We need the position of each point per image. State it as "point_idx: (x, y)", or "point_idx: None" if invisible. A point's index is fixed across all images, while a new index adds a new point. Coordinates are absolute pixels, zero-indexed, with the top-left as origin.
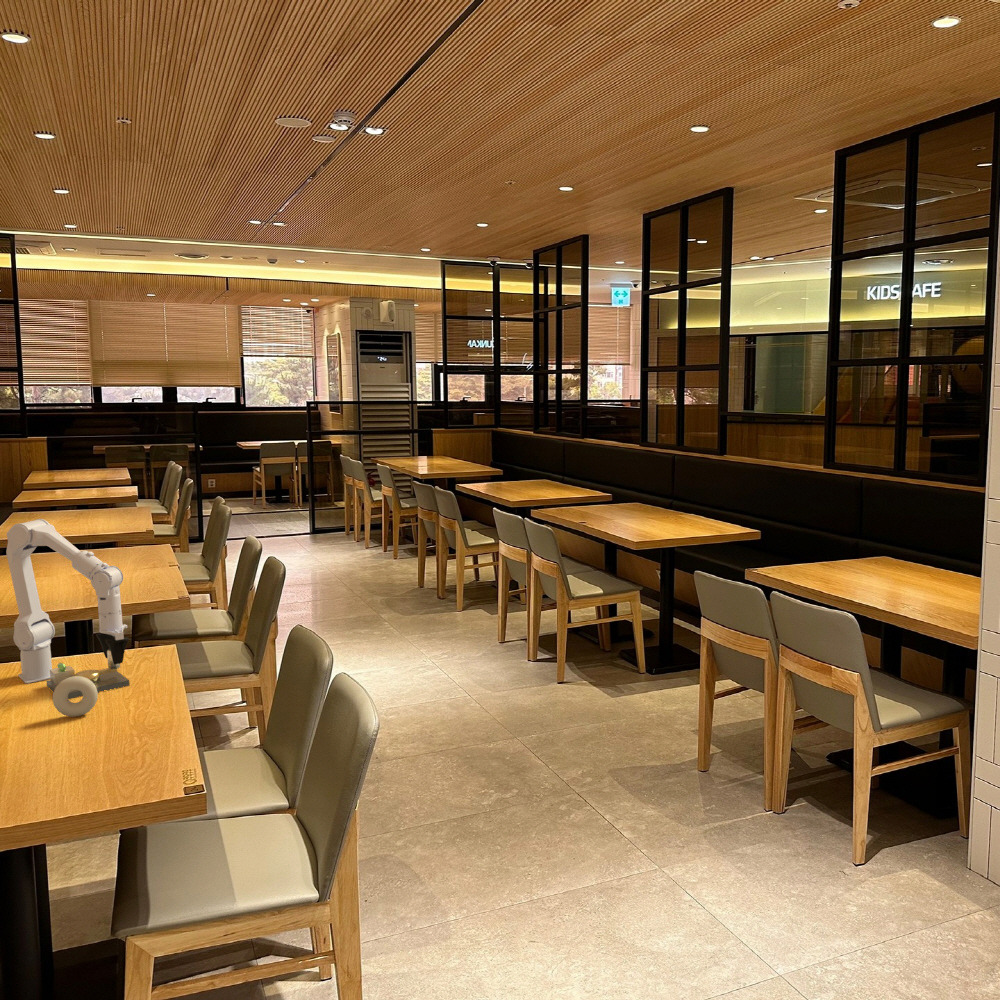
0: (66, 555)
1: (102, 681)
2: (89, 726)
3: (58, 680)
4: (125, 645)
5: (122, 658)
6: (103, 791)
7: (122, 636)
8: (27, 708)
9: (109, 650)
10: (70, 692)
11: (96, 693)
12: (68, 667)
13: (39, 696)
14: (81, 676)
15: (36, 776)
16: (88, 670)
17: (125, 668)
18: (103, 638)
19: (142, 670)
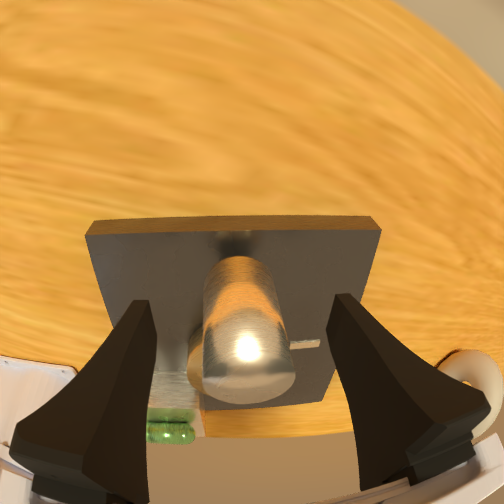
0: None
1: (296, 315)
2: (495, 343)
3: (204, 410)
4: (441, 376)
5: (365, 313)
6: None
7: (498, 452)
8: (306, 422)
9: (247, 395)
10: (324, 387)
11: (498, 367)
12: (150, 411)
13: (234, 411)
14: (489, 423)
15: None
16: (199, 367)
17: (51, 152)
18: (140, 468)
19: (147, 77)
